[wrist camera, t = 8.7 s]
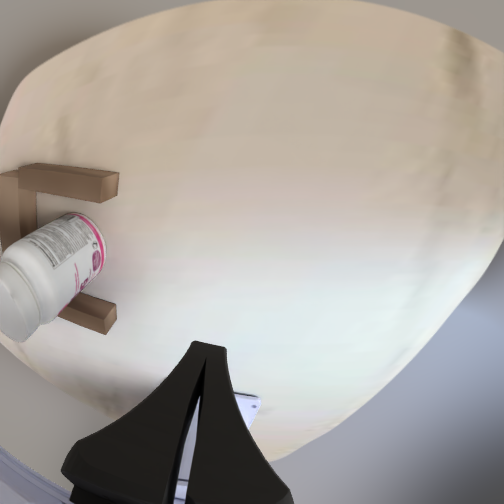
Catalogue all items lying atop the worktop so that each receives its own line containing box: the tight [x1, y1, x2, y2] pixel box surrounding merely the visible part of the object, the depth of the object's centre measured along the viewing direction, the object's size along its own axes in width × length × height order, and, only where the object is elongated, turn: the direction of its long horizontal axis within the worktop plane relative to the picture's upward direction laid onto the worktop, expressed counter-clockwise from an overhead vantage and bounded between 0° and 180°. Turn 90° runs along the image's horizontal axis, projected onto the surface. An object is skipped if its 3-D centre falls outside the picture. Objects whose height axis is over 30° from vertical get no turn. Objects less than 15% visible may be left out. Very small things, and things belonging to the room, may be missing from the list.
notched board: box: [0, 163, 119, 335], centre depth 15 cm, size 11×10×2 cm
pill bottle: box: [0, 213, 106, 342], centre depth 12 cm, size 5×5×8 cm
